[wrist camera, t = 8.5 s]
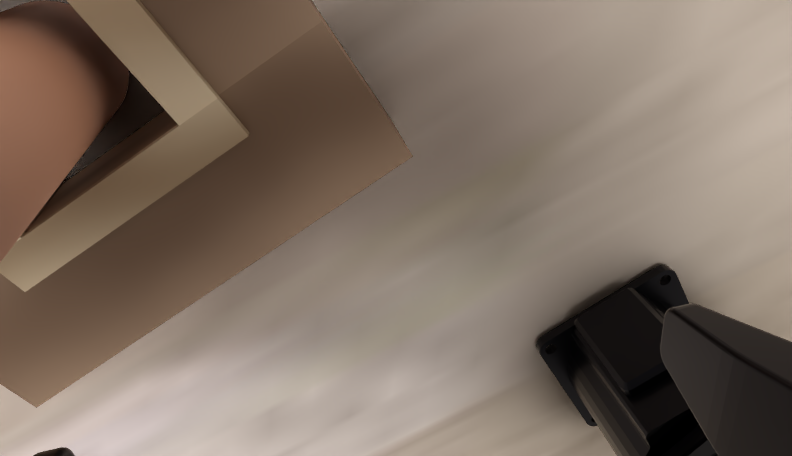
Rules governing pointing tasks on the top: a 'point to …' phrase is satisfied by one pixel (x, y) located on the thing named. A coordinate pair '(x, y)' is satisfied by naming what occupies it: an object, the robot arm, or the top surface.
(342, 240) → the top surface
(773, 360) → the robot arm
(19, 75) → the peg
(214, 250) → the socket block
